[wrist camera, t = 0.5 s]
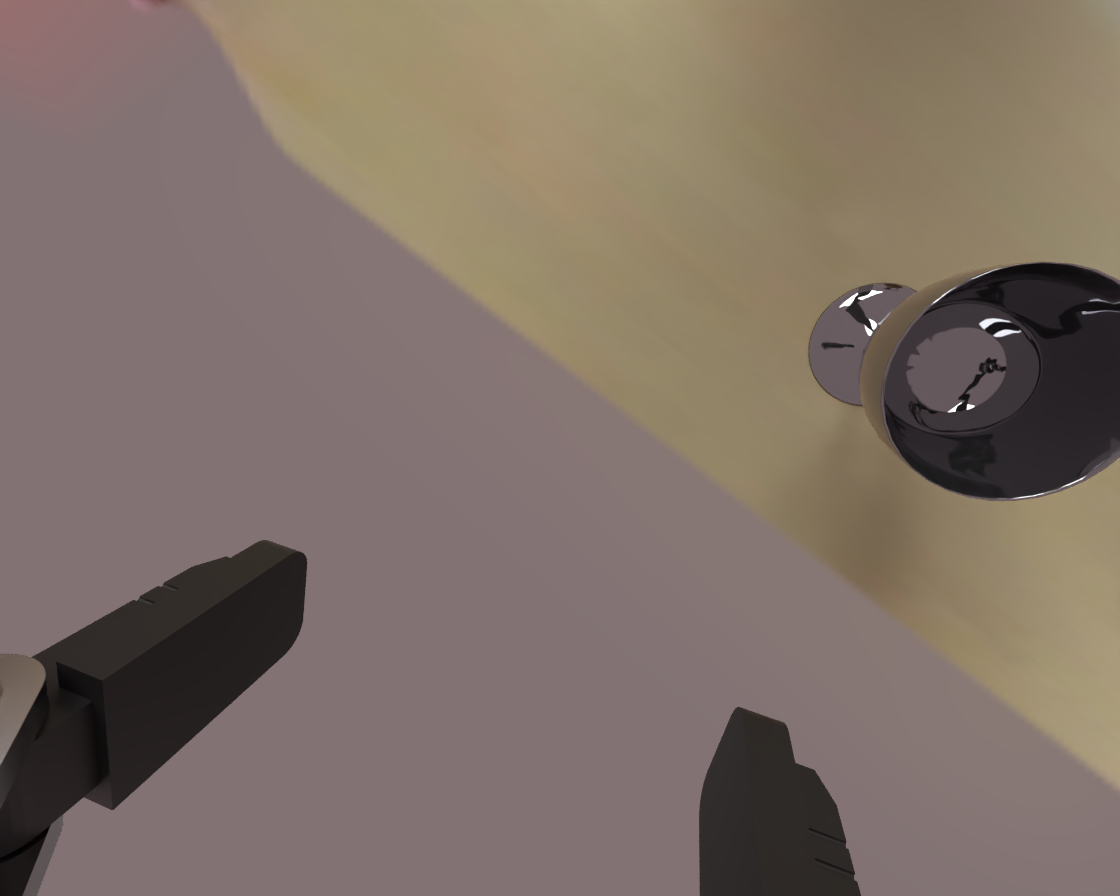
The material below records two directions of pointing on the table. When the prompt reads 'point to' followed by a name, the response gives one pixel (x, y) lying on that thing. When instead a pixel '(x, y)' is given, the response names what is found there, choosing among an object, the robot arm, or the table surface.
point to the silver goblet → (984, 375)
